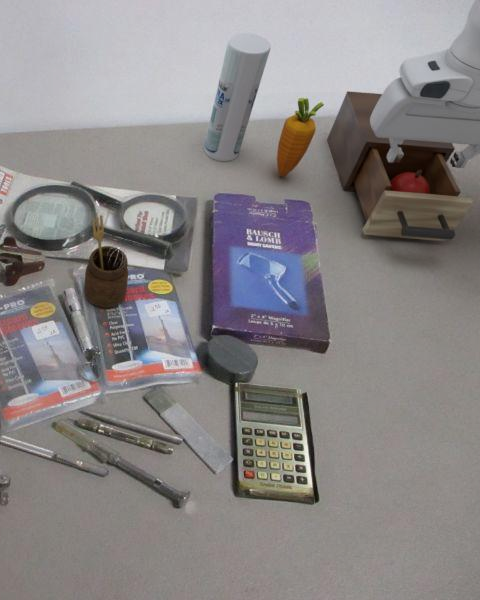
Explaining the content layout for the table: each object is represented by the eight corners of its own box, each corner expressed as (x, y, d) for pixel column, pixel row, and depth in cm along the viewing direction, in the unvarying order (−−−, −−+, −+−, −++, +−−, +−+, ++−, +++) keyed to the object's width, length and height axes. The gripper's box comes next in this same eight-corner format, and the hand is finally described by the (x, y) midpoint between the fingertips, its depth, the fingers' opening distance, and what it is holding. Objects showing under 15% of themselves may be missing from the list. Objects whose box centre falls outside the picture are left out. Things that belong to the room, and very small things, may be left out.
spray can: (201, 139, 109) (226, 31, 93) (236, 141, 109) (267, 33, 93) (204, 161, 105) (231, 52, 89) (241, 163, 105) (274, 54, 89)
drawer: (455, 263, 89) (485, 224, 83) (371, 256, 89) (394, 217, 83) (420, 185, 101) (444, 146, 95) (346, 179, 101) (365, 140, 95)
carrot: (299, 173, 103) (330, 96, 92) (290, 189, 100) (321, 111, 89) (272, 164, 105) (299, 86, 93) (262, 179, 102) (289, 100, 90)
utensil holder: (99, 316, 81) (106, 254, 72) (74, 286, 85) (77, 224, 75) (134, 298, 84) (144, 237, 74) (108, 270, 87) (115, 208, 78)
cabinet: (424, 197, 100) (455, 148, 93) (342, 190, 101) (366, 141, 93) (401, 145, 110) (427, 97, 102) (327, 139, 110) (347, 91, 103)
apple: (411, 195, 97) (434, 159, 92) (422, 220, 93) (446, 184, 88) (375, 192, 97) (395, 156, 92) (384, 216, 94) (406, 180, 88)
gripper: (544, 70, 80) (487, 155, 91) (391, 59, 81) (352, 145, 91) (565, 96, 76) (502, 181, 87) (403, 84, 77) (361, 170, 87)
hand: (424, 162), depth 89 cm, fingers open, 8 cm apart
